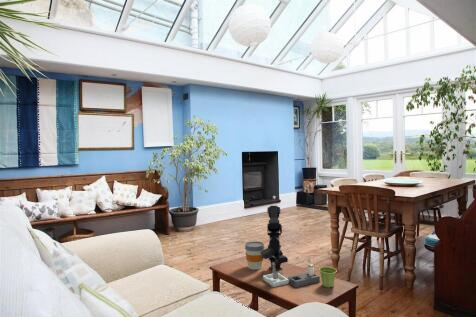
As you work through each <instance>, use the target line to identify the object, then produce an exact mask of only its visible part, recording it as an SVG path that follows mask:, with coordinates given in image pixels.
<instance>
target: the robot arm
mask: <svg viewBox="0 0 476 317" xmlns="http://www.w3.org/2000/svg"><path fill="white" fill-rule="evenodd" d="M266 208H267V215H268V218H269V219H268V223H266V224H267V225H266V226H267V236H269V238H268V239H269V240H268V245H267V248H264V250H263V251H261V252H260V253H261V256H262V258H263V260H267V259H268V261H269V262H270V266H268V268H269V269H270V271H273V265H272V262H274V263H275V269H276V272H277V271H278V272H279V271H281V270H283V268H282V267H281V265H282V264H284V263H289V258H288V257H287V256H286V255H284V253H283V252H282V250H281V248H282V245H281V244H280V243H281V242H280V236H282V234H283V226H282V224H281V223H280V220H279V218H280V214H281V207H280V206H278V205H269V206H268V207H266Z"/></svg>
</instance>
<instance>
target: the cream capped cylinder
mask: <svg viewBox="0 0 476 317" xmlns="http://www.w3.org/2000/svg"><path fill="white" fill-rule="evenodd" d="M272 265H273V270H272V273H273V279H278V273H279V270H278V271H277V272H276V269H275V263H274V262H272Z"/></svg>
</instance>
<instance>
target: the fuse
mask: <svg viewBox="0 0 476 317" xmlns="http://www.w3.org/2000/svg"><path fill="white" fill-rule="evenodd" d="M314 267H315V266H314V264H313V263H308V264H307V270H308V272H307V273H308V276H309V277H313V276H314V274H315V273H314V271H315V268H314Z"/></svg>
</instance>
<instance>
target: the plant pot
mask: <svg viewBox="0 0 476 317" xmlns="http://www.w3.org/2000/svg"><path fill="white" fill-rule="evenodd" d="M318 270H319V273H320V279H321V282H322V283H321V284H322V286H323V287H324V288H333V287H334V286H335V279H336V278H335V277H336V273H337V272H338V270H337V269H336V268H335V267H331V266H323V267H322V266H321V267H320V268H318Z"/></svg>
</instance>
